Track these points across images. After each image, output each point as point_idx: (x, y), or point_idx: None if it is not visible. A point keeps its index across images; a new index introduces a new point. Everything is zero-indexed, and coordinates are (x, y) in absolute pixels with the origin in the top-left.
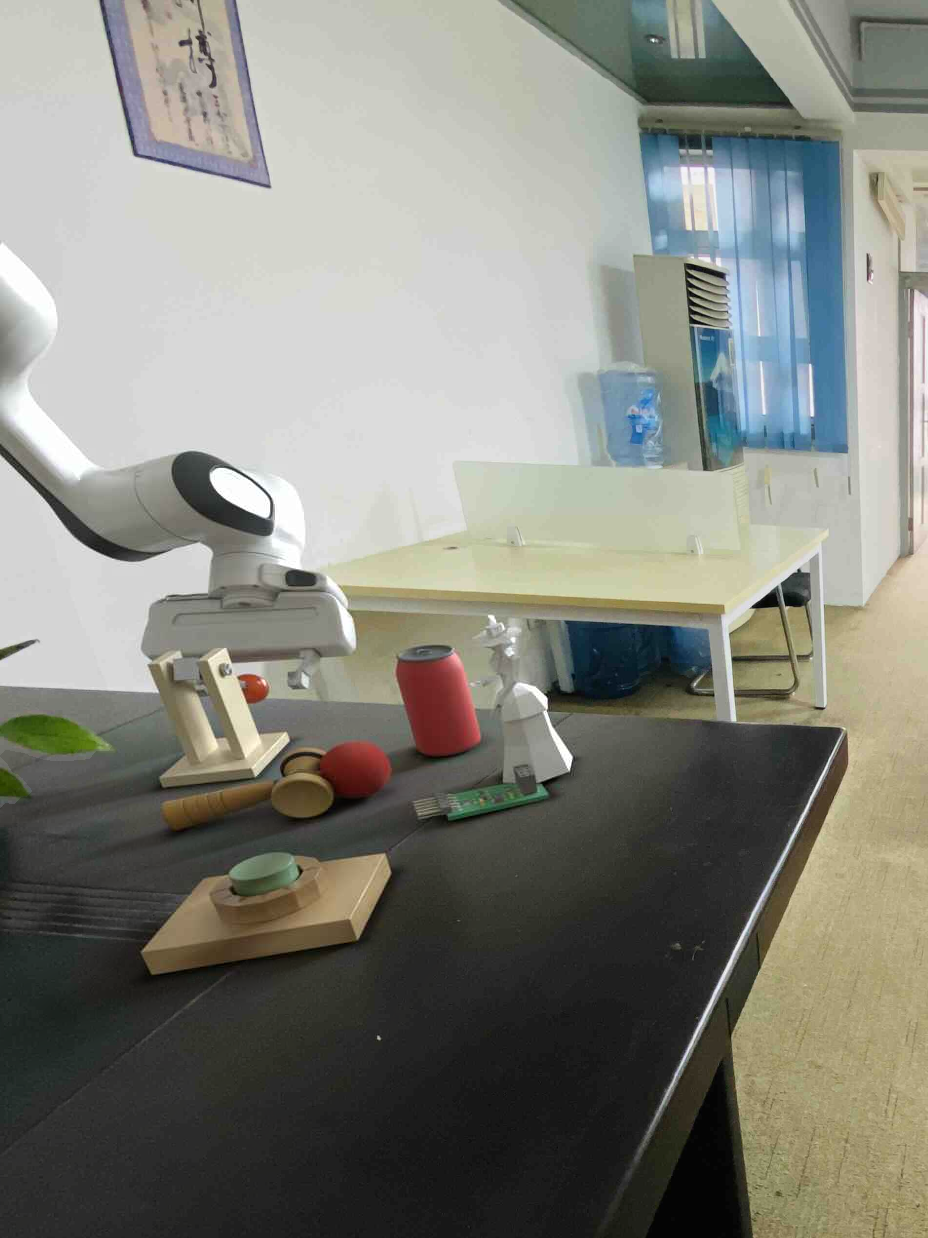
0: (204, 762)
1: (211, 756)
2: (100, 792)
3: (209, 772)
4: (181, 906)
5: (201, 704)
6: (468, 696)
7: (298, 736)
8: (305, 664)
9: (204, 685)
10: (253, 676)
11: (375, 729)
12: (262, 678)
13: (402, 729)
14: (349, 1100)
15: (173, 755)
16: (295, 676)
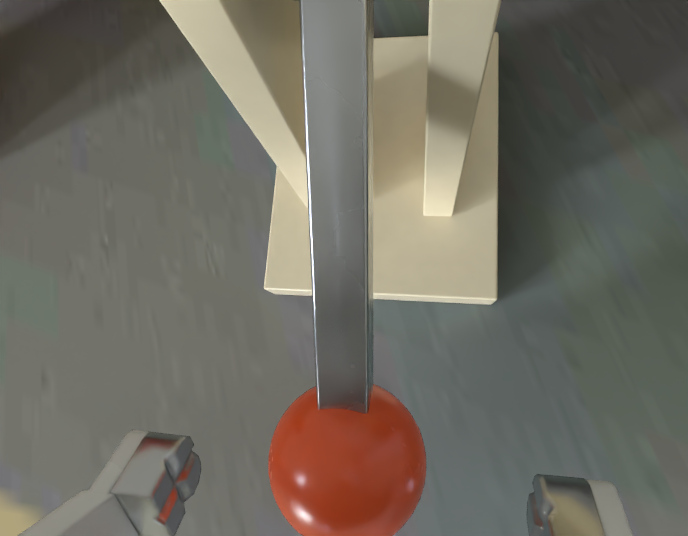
0: (420, 107)
1: (416, 145)
2: (644, 62)
3: (382, 38)
4: None
5: (425, 143)
6: None
7: (260, 327)
8: (46, 521)
9: (549, 505)
10: (293, 464)
11: (74, 313)
12: (273, 486)
13: (14, 288)
14: None
15: (573, 281)
16: (133, 462)
